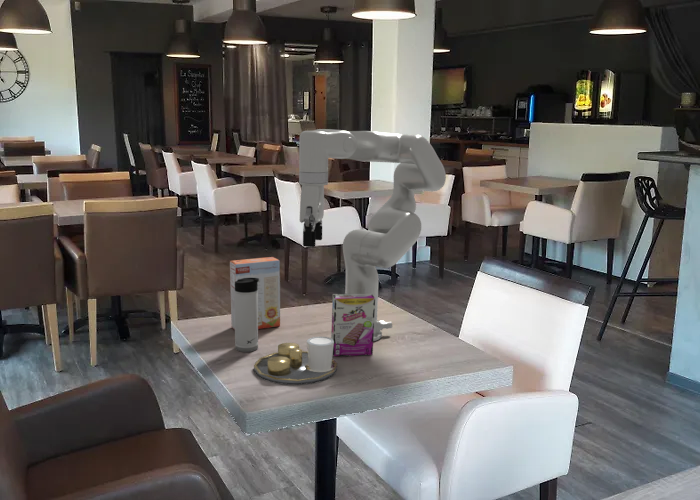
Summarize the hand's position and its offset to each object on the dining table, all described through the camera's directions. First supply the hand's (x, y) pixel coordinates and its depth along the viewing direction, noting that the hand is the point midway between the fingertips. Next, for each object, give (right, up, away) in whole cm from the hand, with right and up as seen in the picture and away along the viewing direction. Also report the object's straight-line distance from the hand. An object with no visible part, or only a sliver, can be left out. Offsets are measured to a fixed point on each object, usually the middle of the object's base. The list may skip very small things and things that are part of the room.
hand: (312, 243), depth 185 cm
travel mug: (-19, -29, +7) cm, 35 cm away
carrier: (-4, -32, -7) cm, 33 cm away
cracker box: (-19, -25, +26) cm, 41 cm away
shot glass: (+2, -32, -8) cm, 33 cm away
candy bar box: (+10, -30, +5) cm, 32 cm away
